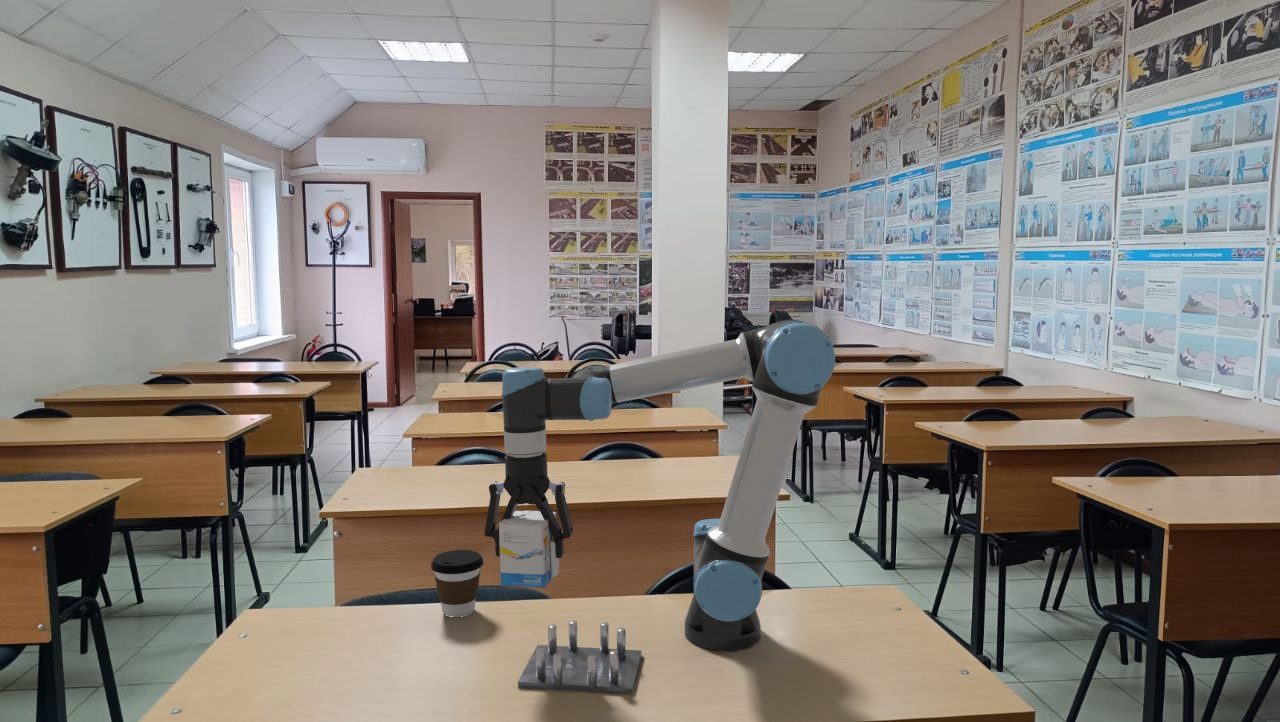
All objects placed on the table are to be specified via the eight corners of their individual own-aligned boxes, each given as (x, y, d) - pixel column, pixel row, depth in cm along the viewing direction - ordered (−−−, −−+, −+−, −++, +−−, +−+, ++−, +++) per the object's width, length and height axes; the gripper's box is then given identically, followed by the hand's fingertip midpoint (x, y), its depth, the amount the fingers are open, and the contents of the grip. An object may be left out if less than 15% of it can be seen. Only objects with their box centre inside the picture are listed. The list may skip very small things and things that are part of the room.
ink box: (544, 589, 139) (542, 524, 138) (499, 586, 141) (497, 522, 140) (559, 571, 147) (557, 510, 146) (517, 569, 149) (514, 509, 148)
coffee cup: (467, 626, 160) (466, 569, 159) (421, 618, 164) (419, 563, 162) (494, 605, 170) (492, 551, 169) (450, 599, 174) (448, 546, 173)
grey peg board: (641, 654, 148) (641, 624, 147) (631, 695, 133) (631, 661, 133) (538, 648, 150) (537, 618, 150) (517, 688, 136) (516, 655, 135)
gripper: (588, 448, 144) (591, 567, 146) (475, 448, 147) (480, 565, 149) (579, 457, 137) (583, 582, 139) (461, 457, 139) (467, 579, 142)
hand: (530, 573), depth 144 cm, fingers closed on ink box, 9 cm apart
